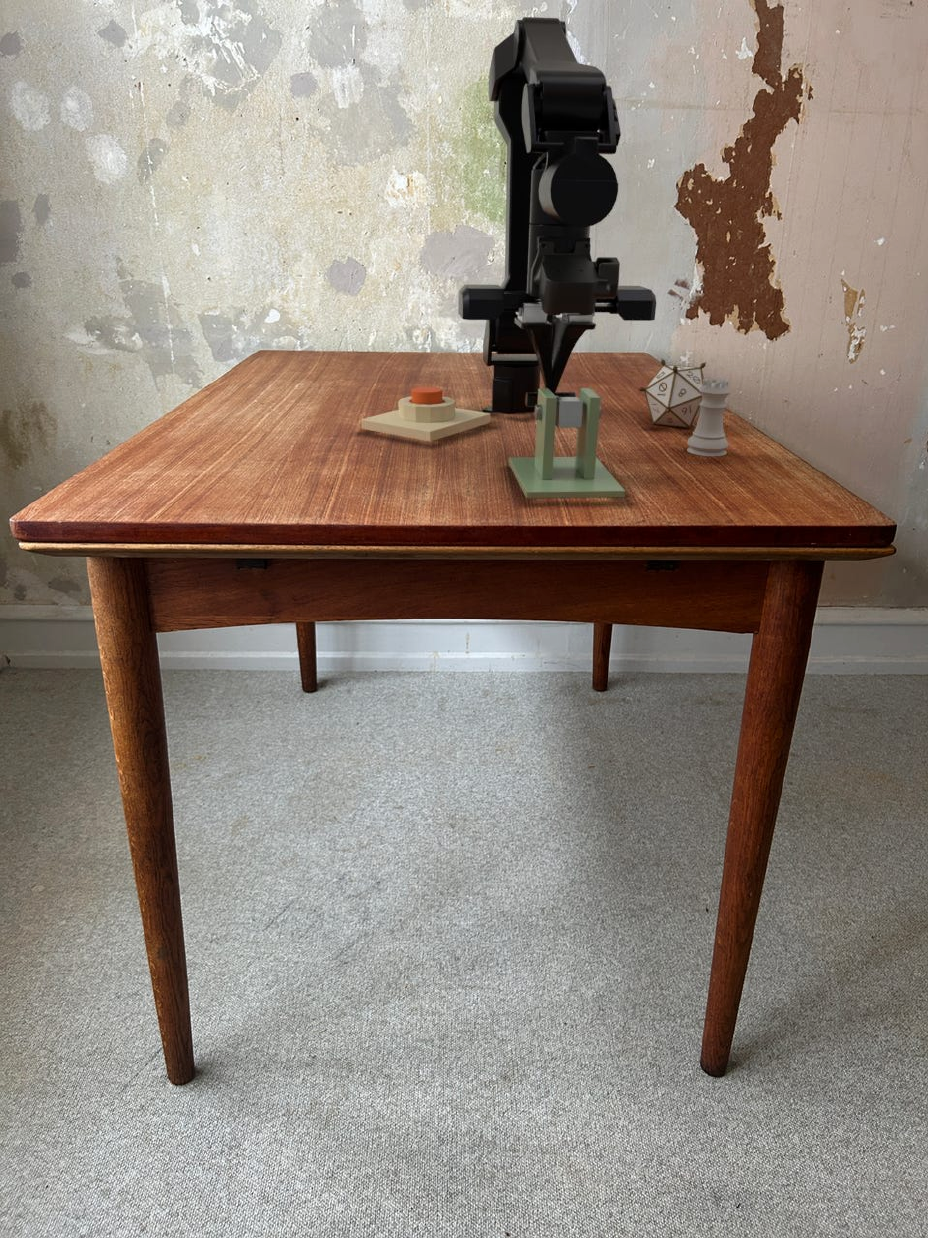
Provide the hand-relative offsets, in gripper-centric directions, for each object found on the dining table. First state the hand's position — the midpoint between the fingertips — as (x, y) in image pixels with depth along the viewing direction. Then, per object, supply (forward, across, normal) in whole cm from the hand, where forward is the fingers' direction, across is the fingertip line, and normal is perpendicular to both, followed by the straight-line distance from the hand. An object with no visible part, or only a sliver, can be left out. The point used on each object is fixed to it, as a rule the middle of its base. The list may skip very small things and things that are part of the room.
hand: (550, 392), depth 91 cm
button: (+4, -12, +14) cm, 19 cm away
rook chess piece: (+7, +18, +1) cm, 19 cm away
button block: (+7, -12, +14) cm, 20 cm away
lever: (+2, 0, -5) cm, 5 cm away
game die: (+7, +18, +14) cm, 24 cm away
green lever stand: (+7, 0, -9) cm, 11 cm away
